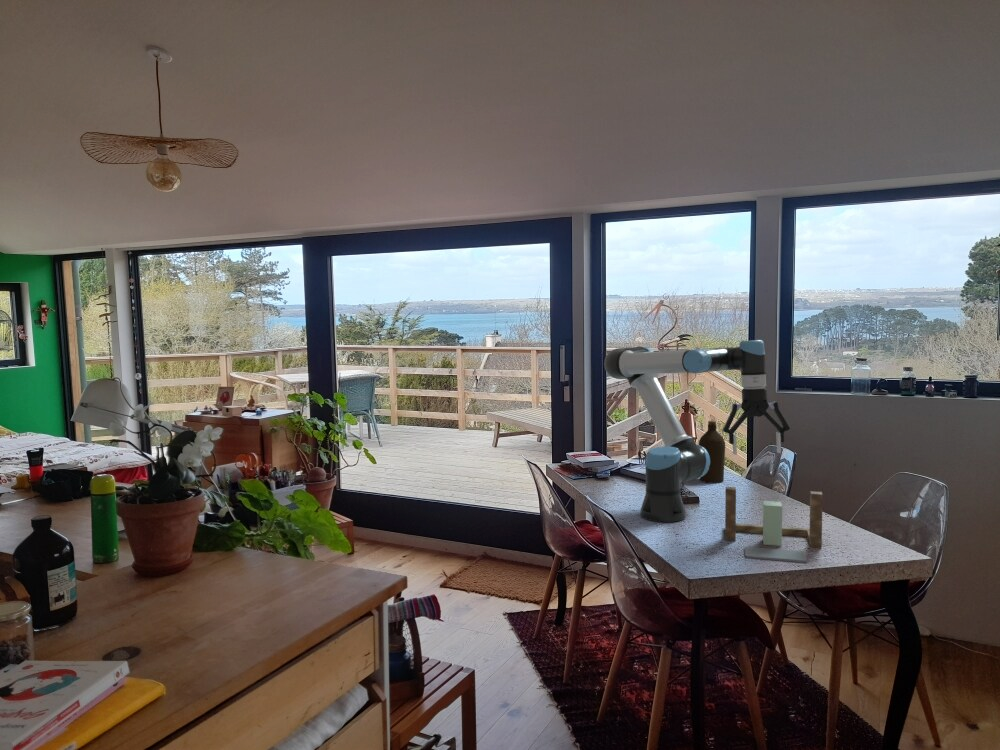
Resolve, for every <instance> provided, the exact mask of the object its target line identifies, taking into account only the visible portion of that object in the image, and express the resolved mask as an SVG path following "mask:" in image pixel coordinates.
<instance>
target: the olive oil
mask: <svg viewBox="0 0 1000 750" xmlns="http://www.w3.org/2000/svg"><path fill="white" fill-rule="evenodd" d="M707 423H708V424H707V431H705V433H703V435H702V436H701V437H700V438H699V442H698V445H700V446H701V447H704V448H705V449H706V450H707V452H708V454H709V457H710V466H709V470H708V471H707V473H706V474H705V475H704V476H702V477H700V478H699V479H700V481H701V480H702V481H701V482H703V481H705V482H704V483H708V482H720V483H722V482H724V481H725V480H724V477H725V459H726V457H725V456H726V442H725V439H724V437H723V436H722V435H721V434H720V433H719V432H718V430H717V421H716V420H708V421H707Z"/></svg>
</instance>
